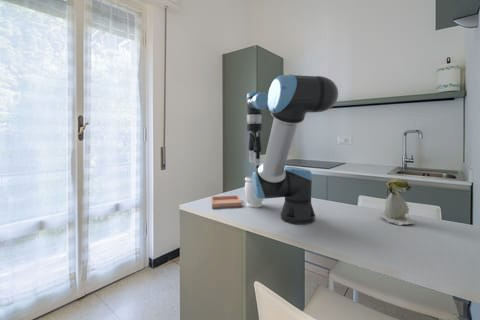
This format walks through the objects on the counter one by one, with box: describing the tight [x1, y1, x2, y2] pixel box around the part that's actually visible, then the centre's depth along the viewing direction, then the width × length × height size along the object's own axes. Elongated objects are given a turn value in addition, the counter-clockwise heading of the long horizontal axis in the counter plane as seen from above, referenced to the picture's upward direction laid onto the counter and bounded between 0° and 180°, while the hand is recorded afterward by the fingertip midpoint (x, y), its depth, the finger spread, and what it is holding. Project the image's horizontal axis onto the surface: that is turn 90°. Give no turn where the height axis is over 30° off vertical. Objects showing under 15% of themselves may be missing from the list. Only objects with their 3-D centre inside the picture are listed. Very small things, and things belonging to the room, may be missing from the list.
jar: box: [244, 176, 264, 208], centre depth 132 cm, size 11×10×15 cm
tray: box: [210, 194, 243, 210], centre depth 137 cm, size 15×16×2 cm
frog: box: [380, 178, 416, 227], centre depth 108 cm, size 12×13×18 cm
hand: (254, 163), depth 131 cm, fingers open, 13 cm apart
